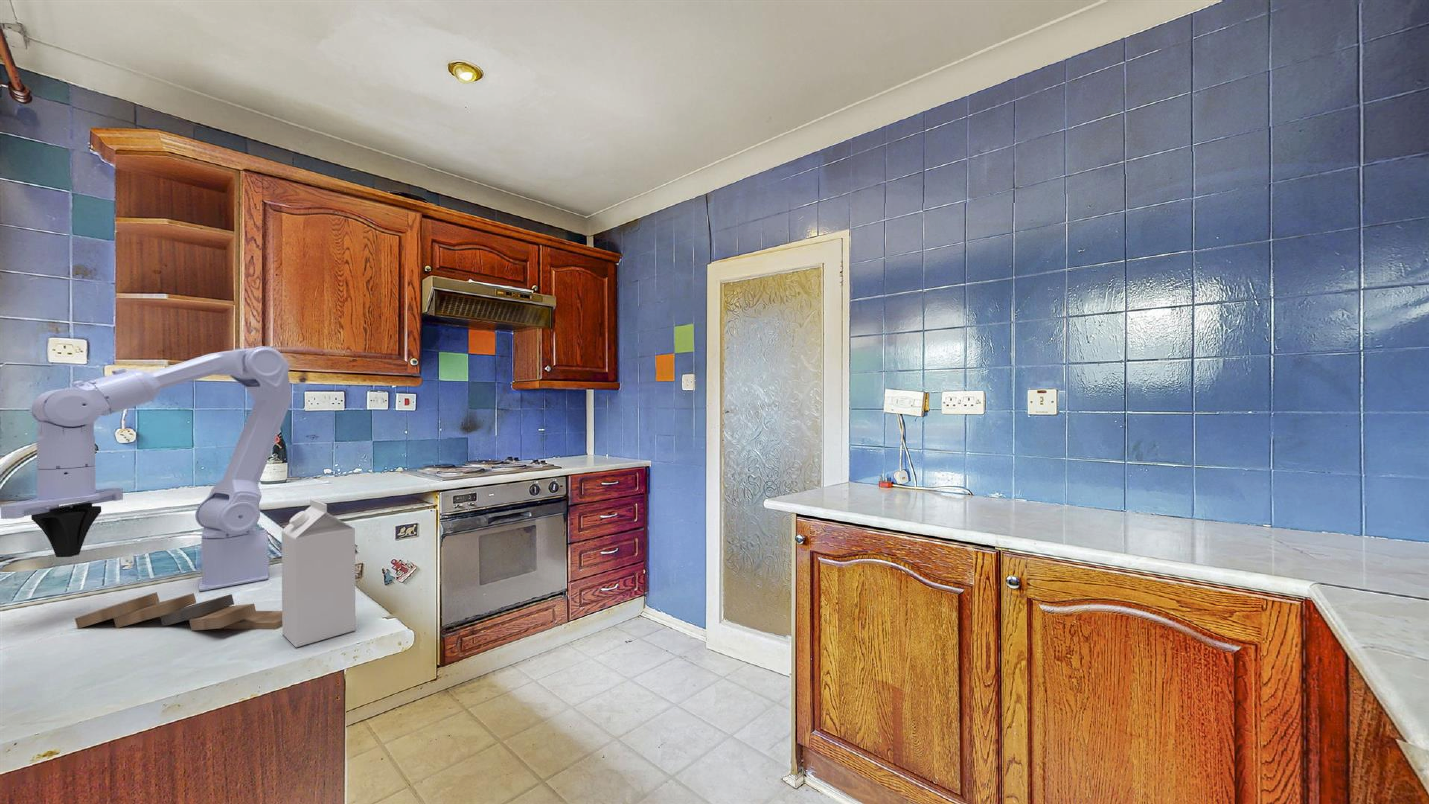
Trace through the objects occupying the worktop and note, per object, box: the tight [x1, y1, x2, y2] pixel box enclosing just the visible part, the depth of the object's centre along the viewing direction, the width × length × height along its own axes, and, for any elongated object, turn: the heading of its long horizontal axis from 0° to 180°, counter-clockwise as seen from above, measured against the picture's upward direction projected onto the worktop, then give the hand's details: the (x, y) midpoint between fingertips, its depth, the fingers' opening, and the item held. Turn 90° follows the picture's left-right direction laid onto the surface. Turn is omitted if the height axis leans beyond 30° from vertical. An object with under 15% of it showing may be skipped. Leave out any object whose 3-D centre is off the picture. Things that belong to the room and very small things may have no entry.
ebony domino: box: [159, 593, 235, 627], centre depth 82 cm, size 4×2×8 cm
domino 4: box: [222, 610, 282, 630], centre depth 82 cm, size 4×2×8 cm
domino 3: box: [188, 603, 257, 631], centre depth 79 cm, size 4×2×8 cm
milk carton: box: [281, 498, 357, 648], centre depth 78 cm, size 7×7×19 cm
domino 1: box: [74, 591, 161, 629], centre depth 82 cm, size 4×2×8 cm
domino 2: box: [113, 592, 197, 629], centre depth 82 cm, size 4×2×8 cm
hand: (67, 555), depth 83 cm, fingers closed
